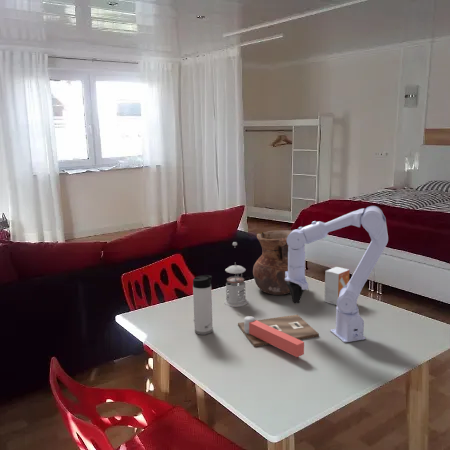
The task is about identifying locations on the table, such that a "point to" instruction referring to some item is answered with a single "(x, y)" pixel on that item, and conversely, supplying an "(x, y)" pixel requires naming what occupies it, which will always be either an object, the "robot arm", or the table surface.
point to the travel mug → (202, 304)
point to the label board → (284, 328)
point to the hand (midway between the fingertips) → (296, 302)
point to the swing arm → (274, 336)
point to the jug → (272, 262)
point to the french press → (235, 286)
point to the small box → (335, 283)
